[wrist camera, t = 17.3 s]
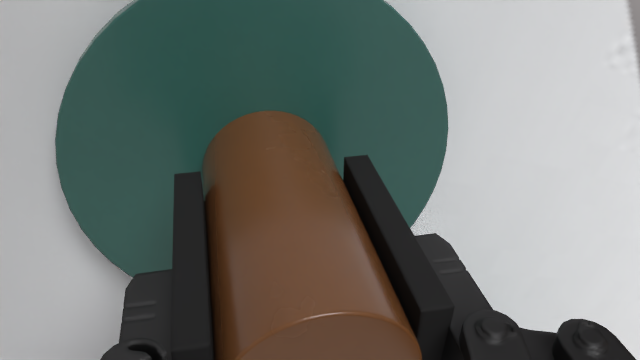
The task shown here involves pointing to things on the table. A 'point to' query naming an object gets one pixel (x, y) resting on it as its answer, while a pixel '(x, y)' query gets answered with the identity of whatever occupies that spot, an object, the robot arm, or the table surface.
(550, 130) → the table surface
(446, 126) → the lid
